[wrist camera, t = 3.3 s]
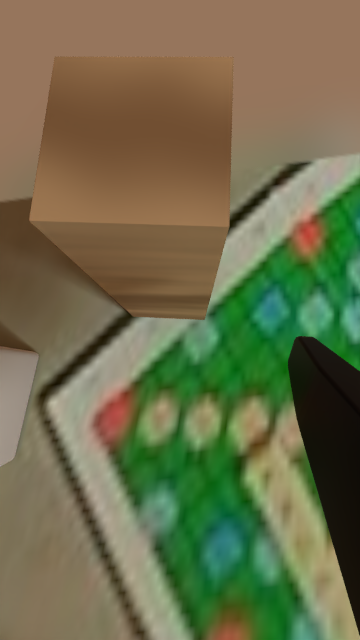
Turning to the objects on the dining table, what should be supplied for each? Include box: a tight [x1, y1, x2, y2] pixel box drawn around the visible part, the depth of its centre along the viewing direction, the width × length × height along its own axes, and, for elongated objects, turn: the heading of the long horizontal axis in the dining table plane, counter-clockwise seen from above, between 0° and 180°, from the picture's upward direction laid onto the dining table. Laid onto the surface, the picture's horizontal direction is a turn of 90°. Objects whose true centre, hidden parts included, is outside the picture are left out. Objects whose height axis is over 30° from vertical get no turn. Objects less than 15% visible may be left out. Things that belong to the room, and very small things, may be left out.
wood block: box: [29, 57, 233, 320], centre depth 14 cm, size 5×5×13 cm
